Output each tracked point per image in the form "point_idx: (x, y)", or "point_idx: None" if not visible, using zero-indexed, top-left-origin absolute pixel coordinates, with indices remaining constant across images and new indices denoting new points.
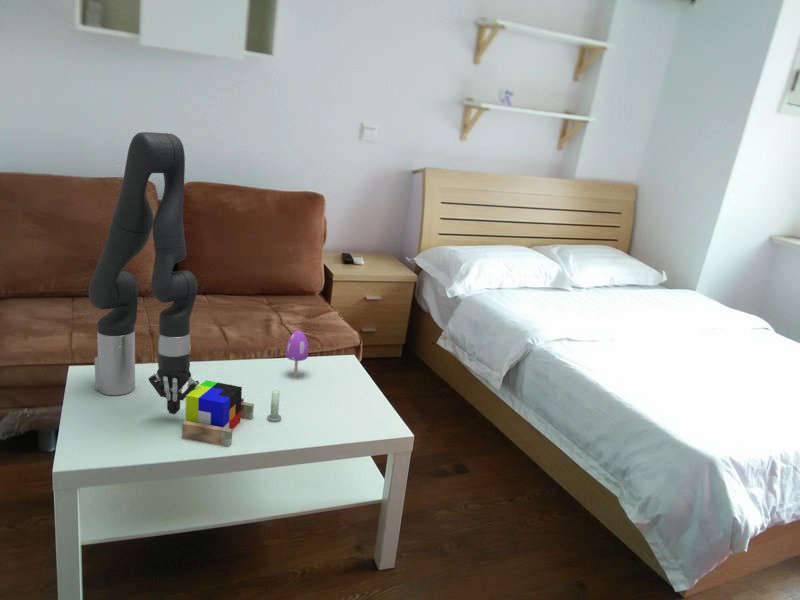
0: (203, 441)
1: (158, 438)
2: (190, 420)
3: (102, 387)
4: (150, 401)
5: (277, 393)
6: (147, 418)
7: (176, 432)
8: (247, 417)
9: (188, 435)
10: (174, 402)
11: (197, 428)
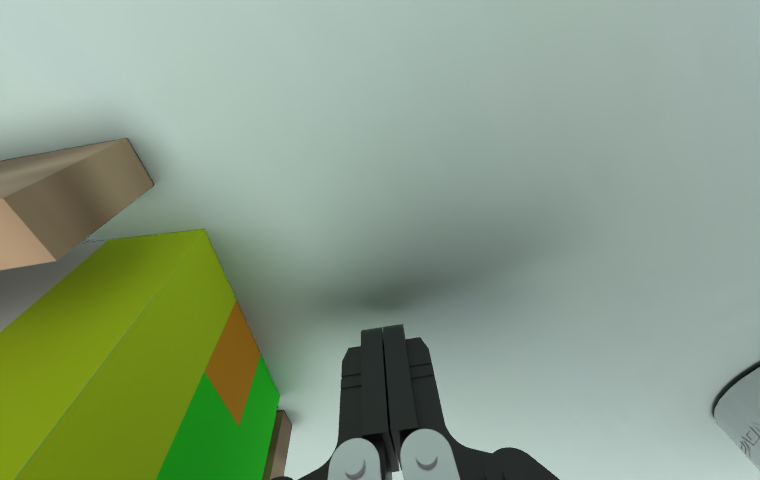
0: None
1: (280, 33)
2: (104, 301)
3: None
4: (599, 373)
5: None
6: (538, 247)
7: (243, 192)
8: None
9: (44, 159)
10: (362, 426)
11: None
